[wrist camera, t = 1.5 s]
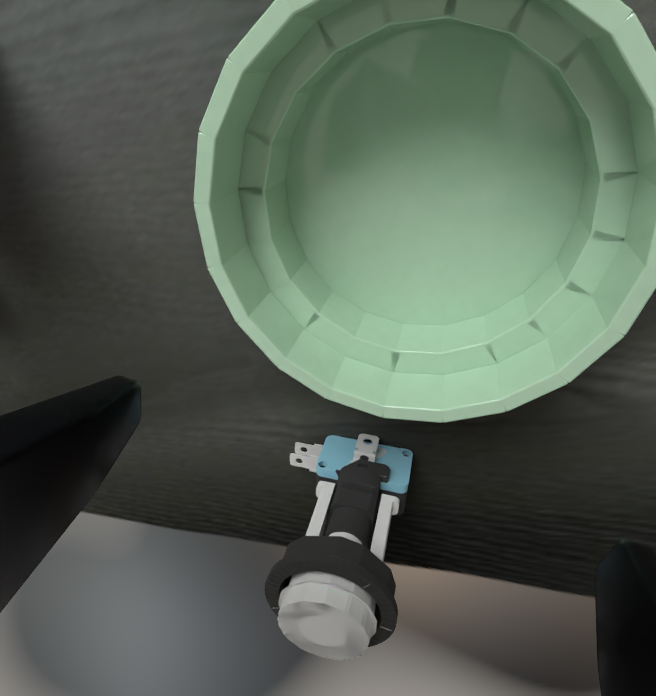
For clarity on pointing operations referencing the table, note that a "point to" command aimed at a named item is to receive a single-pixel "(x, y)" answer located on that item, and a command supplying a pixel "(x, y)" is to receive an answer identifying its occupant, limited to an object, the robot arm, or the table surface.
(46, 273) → the table surface
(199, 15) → the table surface
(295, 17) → the bowl
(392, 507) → the push button
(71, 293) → the table surface
